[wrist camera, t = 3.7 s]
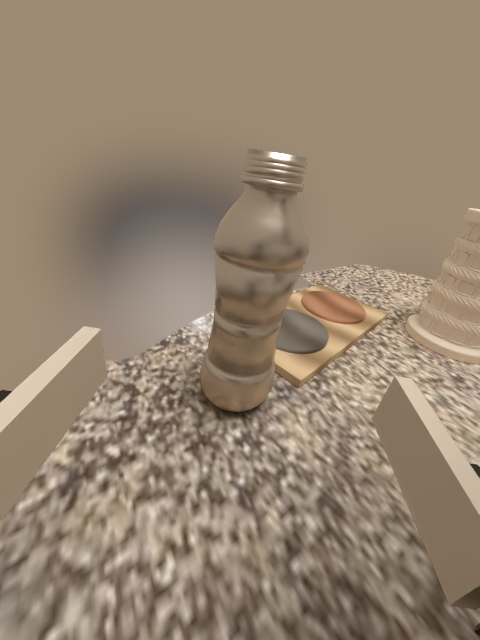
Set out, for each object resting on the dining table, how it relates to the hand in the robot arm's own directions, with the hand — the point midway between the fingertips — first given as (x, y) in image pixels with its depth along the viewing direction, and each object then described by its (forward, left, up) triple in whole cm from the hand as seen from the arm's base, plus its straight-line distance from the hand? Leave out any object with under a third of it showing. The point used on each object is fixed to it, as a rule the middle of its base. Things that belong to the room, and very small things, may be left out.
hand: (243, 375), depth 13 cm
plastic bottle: (-7, -6, -11) cm, 15 cm away
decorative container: (-41, +6, -11) cm, 43 cm away
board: (-26, -9, -11) cm, 30 cm away
